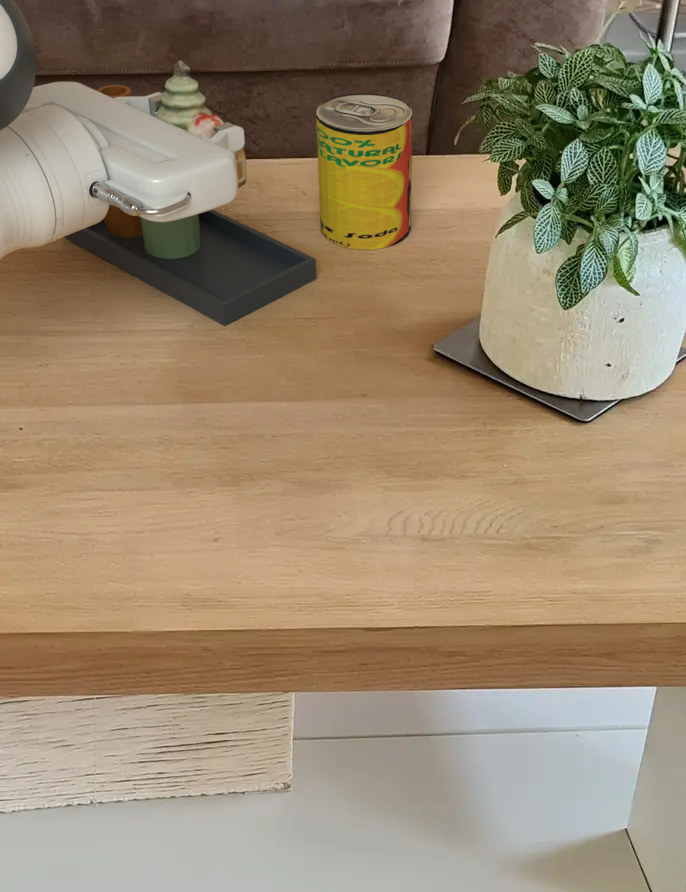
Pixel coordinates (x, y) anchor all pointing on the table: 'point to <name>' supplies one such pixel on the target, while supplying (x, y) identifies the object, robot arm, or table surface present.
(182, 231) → the green bottle
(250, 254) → the tray
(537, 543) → the table surface
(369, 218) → the beverage can
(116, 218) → the amber bottle
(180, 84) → the ornament
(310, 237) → the table surface
